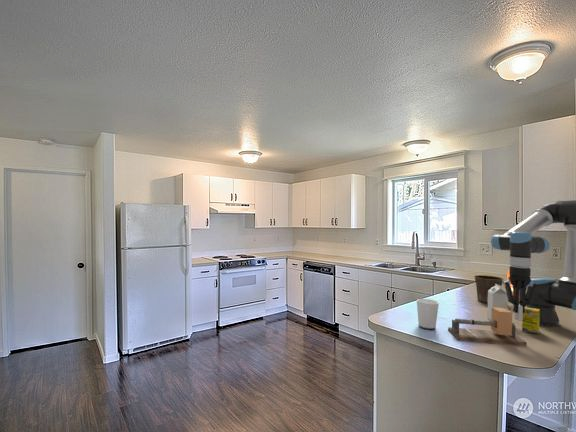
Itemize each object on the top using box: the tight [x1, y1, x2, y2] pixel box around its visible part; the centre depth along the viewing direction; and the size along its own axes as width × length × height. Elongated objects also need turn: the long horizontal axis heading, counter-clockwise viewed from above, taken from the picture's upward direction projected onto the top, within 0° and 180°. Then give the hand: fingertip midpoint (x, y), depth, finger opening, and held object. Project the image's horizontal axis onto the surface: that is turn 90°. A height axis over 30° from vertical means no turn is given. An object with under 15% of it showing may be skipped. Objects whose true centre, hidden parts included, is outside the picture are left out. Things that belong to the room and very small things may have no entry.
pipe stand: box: [447, 318, 527, 347], centre depth 138 cm, size 27×12×8 cm, turn 81°
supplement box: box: [521, 307, 540, 335], centre depth 148 cm, size 6×6×11 cm
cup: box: [416, 298, 440, 331], centre depth 149 cm, size 10×10×13 cm
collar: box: [490, 307, 513, 336], centre depth 137 cm, size 5×7×10 cm
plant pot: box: [473, 274, 504, 304], centre depth 203 cm, size 16×16×16 cm
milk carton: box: [486, 284, 509, 321], centre depth 163 cm, size 7×7×19 cm
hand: (518, 320), depth 136 cm, fingers closed
